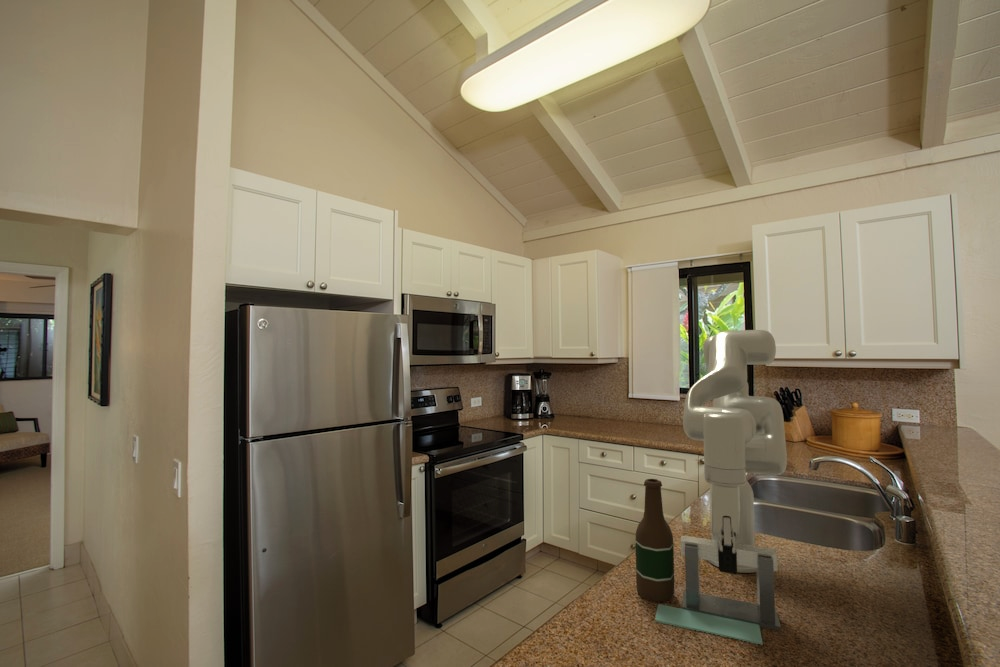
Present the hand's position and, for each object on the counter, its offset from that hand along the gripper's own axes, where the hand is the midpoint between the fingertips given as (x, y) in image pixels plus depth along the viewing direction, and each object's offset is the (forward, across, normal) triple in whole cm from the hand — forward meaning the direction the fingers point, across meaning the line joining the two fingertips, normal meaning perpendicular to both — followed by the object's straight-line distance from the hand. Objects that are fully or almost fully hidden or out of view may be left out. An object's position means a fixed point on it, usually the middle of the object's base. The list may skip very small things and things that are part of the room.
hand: (727, 566), depth 92 cm
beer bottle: (+9, -1, -14) cm, 17 cm away
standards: (+9, 0, 0) cm, 9 cm away
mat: (+9, +6, -4) cm, 12 cm away
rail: (-1, 0, 0) cm, 1 cm away
